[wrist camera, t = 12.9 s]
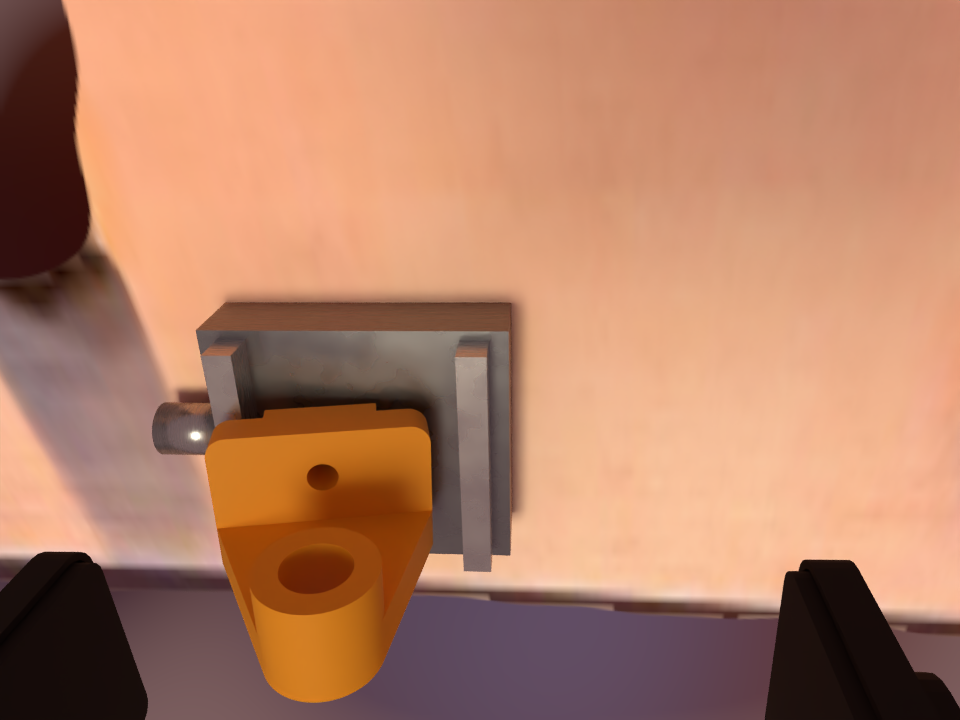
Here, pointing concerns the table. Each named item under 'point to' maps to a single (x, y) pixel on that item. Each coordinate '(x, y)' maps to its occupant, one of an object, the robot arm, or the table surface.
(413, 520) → the bracket
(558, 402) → the table surface
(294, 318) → the block
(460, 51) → the table surface
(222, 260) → the table surface
